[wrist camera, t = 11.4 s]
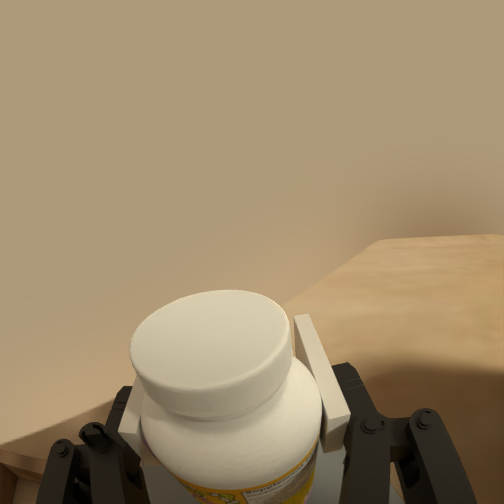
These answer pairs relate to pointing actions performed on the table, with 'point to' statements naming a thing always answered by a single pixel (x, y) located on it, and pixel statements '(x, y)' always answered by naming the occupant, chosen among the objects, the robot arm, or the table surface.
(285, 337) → the supplement bottle
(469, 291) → the table surface
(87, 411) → the table surface
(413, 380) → the table surface
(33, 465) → the locating collar
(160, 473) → the slate mat
